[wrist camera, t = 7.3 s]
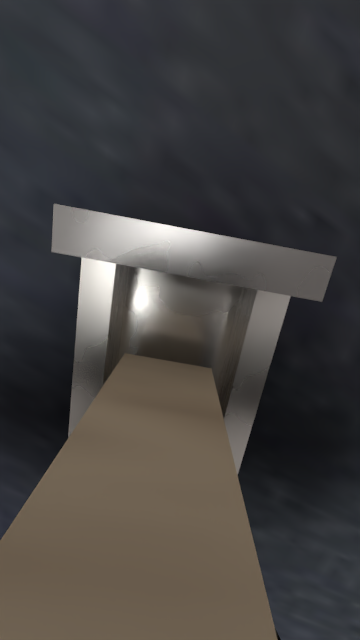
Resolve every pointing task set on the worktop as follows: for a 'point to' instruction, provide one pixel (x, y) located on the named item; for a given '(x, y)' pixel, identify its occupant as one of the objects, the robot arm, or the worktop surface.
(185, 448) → the door panel
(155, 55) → the worktop surface
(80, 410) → the bottom track
